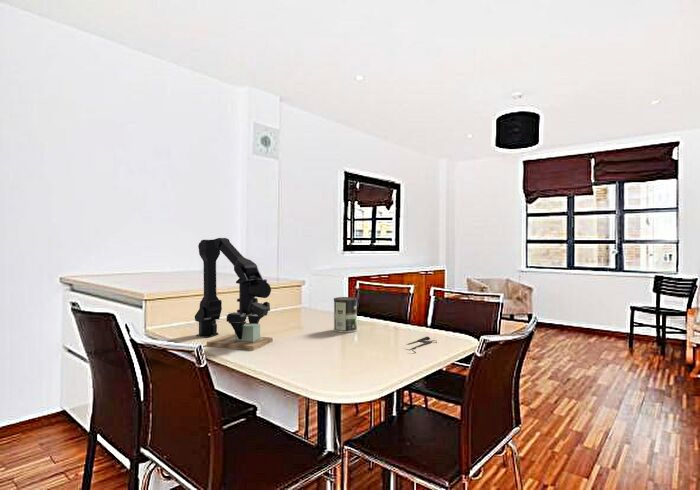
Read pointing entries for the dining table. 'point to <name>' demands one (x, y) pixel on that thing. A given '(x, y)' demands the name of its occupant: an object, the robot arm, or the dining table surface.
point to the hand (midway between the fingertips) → (247, 336)
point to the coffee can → (345, 314)
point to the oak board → (238, 342)
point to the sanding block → (250, 333)
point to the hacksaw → (421, 344)
